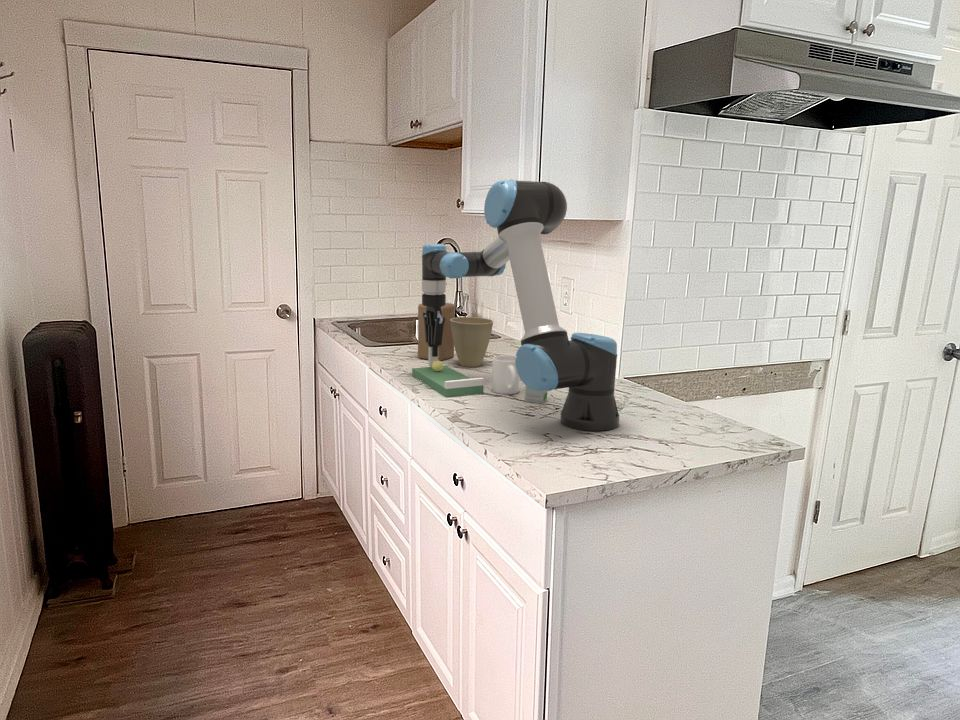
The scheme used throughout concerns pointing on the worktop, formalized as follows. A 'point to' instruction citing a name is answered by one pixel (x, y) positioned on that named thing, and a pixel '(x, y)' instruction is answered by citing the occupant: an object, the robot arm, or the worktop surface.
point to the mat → (449, 381)
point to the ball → (437, 366)
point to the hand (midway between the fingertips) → (433, 365)
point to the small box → (535, 396)
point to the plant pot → (471, 339)
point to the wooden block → (447, 340)
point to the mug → (504, 375)
